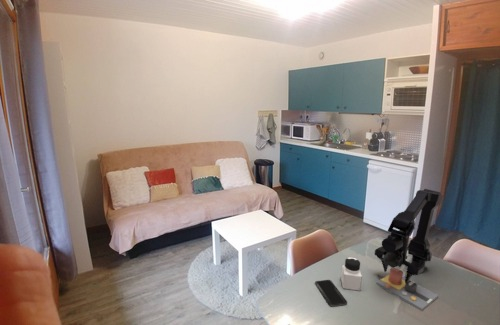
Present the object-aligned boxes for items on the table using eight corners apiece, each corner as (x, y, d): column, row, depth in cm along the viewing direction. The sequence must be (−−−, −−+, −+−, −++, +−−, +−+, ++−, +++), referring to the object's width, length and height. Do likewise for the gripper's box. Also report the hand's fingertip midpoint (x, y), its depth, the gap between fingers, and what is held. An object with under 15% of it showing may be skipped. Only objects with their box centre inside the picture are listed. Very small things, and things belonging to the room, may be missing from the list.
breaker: (408, 286, 116) (410, 278, 115) (416, 290, 113) (417, 282, 113) (404, 289, 114) (405, 281, 113) (411, 293, 111) (413, 285, 111)
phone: (330, 305, 105) (314, 281, 119) (330, 308, 105) (314, 283, 119) (348, 303, 106) (330, 279, 121) (348, 305, 106) (330, 281, 121)
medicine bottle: (360, 291, 114) (363, 265, 112) (342, 288, 116) (345, 263, 113) (357, 280, 121) (359, 256, 119) (340, 278, 123) (343, 254, 120)
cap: (392, 276, 123) (393, 266, 122) (404, 282, 118) (405, 272, 117) (385, 280, 120) (387, 270, 119) (397, 286, 115) (399, 276, 114)
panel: (392, 273, 127) (393, 270, 126) (438, 297, 111) (438, 293, 111) (375, 283, 119) (376, 280, 119) (421, 311, 104) (422, 307, 103)
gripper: (369, 240, 118) (365, 272, 122) (413, 261, 103) (407, 296, 107) (383, 234, 124) (379, 264, 128) (427, 252, 109) (421, 286, 113)
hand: (395, 277), depth 119 cm, fingers open, 9 cm apart
